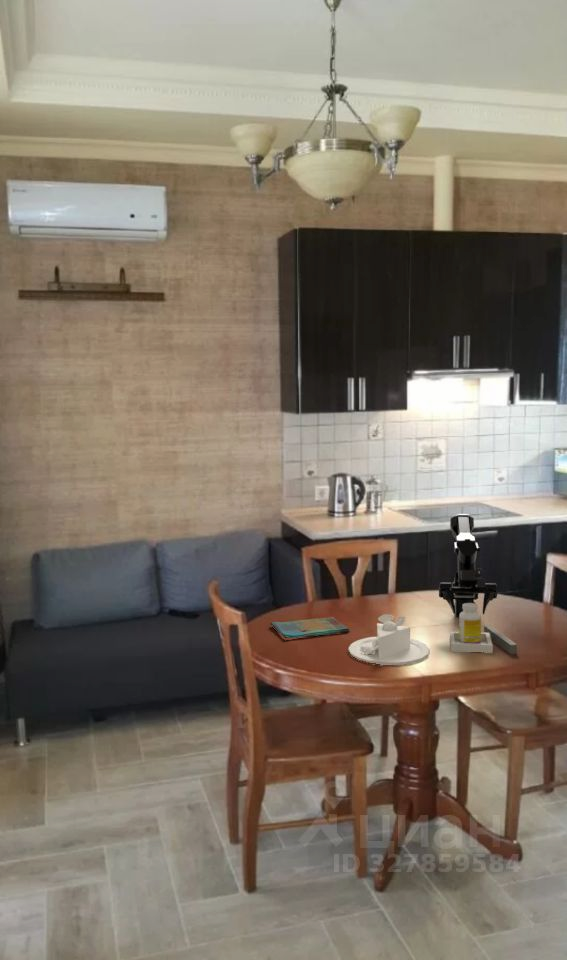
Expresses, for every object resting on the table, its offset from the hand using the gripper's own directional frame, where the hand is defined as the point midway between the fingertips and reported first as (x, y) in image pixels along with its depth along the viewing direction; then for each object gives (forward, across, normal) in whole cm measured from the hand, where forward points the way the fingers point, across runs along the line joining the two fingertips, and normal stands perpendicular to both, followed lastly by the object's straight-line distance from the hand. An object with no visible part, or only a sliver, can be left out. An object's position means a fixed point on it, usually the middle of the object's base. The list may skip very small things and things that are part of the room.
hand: (468, 613), depth 257 cm
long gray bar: (+9, +9, +3) cm, 13 cm away
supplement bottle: (+11, 0, +1) cm, 11 cm away
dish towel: (+3, -53, +10) cm, 54 cm away
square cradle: (+11, 0, +1) cm, 11 cm away
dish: (+17, -25, -4) cm, 31 cm away
